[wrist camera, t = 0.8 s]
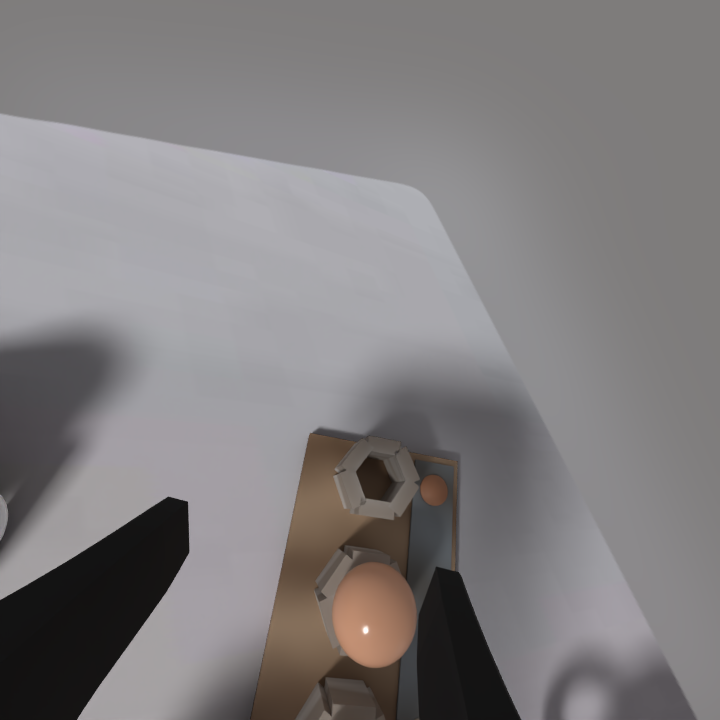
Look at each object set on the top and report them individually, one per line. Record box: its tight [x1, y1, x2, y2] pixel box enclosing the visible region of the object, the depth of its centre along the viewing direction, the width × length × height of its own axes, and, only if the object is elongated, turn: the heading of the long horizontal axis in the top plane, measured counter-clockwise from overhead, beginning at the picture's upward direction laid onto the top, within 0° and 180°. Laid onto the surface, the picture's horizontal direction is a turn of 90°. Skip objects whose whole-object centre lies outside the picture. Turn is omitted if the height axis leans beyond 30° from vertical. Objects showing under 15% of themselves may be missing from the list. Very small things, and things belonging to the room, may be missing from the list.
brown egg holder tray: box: [250, 433, 457, 720], centre depth 21 cm, size 19×12×4 cm, turn 172°
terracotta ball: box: [332, 562, 417, 668], centre depth 18 cm, size 4×4×4 cm
